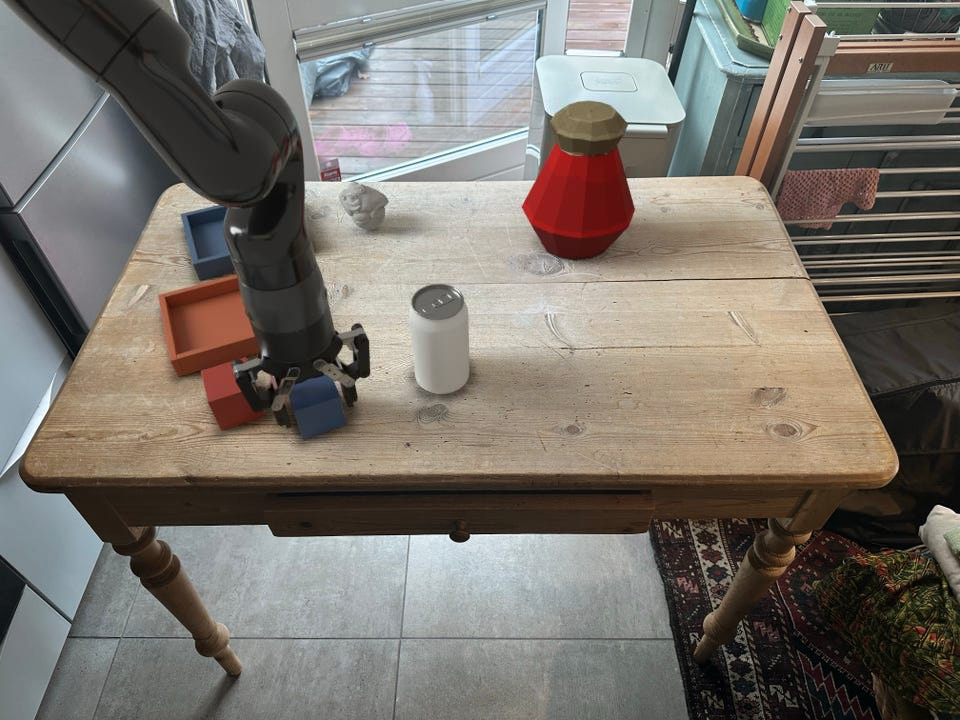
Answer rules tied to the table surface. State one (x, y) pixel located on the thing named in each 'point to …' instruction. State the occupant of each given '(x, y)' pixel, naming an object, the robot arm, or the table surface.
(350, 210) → the frog figurine
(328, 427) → the blue block
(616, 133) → the bottle
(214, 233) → the blue tray
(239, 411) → the red block
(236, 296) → the orange tray
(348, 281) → the table surface
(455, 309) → the can
